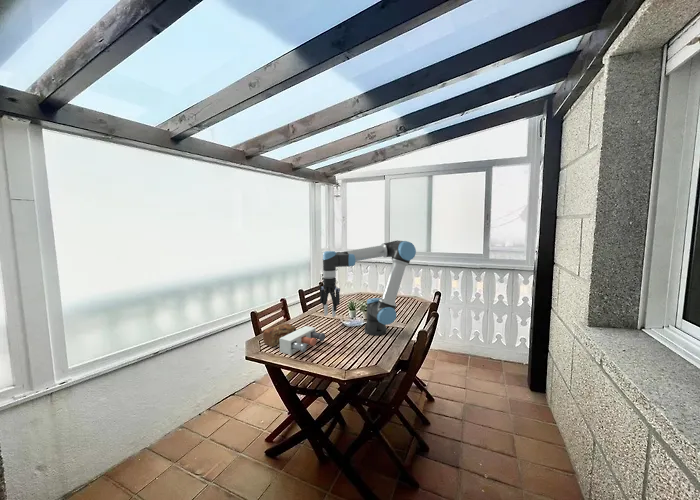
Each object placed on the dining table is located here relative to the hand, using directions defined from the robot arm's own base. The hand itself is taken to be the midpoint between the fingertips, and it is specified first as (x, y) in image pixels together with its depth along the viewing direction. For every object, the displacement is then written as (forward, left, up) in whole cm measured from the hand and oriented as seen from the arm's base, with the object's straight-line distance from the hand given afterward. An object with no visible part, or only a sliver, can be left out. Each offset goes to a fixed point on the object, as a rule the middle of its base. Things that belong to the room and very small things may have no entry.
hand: (329, 315), depth 172 cm
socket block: (+17, +9, -19) cm, 27 cm away
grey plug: (+11, 0, -17) cm, 20 cm away
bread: (+32, +9, -19) cm, 38 cm away
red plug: (+11, +9, -17) cm, 22 cm away
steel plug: (+11, +18, -17) cm, 27 cm away
